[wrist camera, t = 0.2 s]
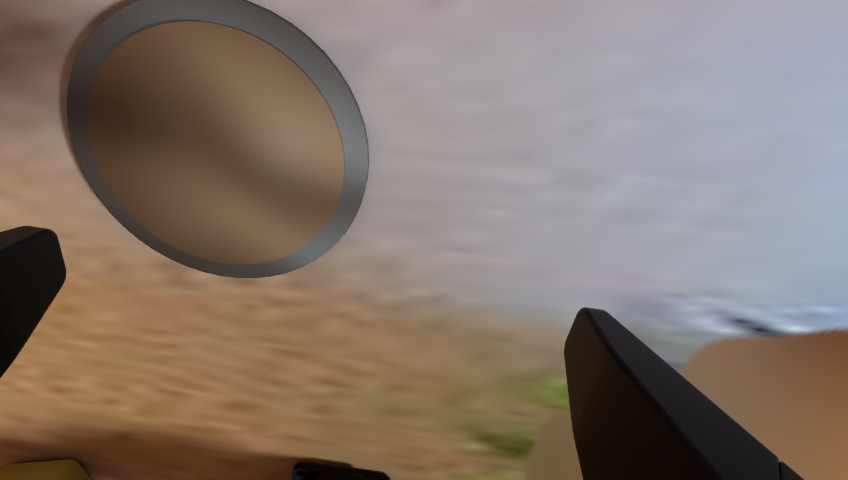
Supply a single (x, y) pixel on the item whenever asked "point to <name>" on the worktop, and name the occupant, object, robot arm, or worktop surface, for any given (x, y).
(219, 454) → the worktop surface
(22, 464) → the flower pot
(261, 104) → the coaster
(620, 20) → the worktop surface
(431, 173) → the worktop surface
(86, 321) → the worktop surface
